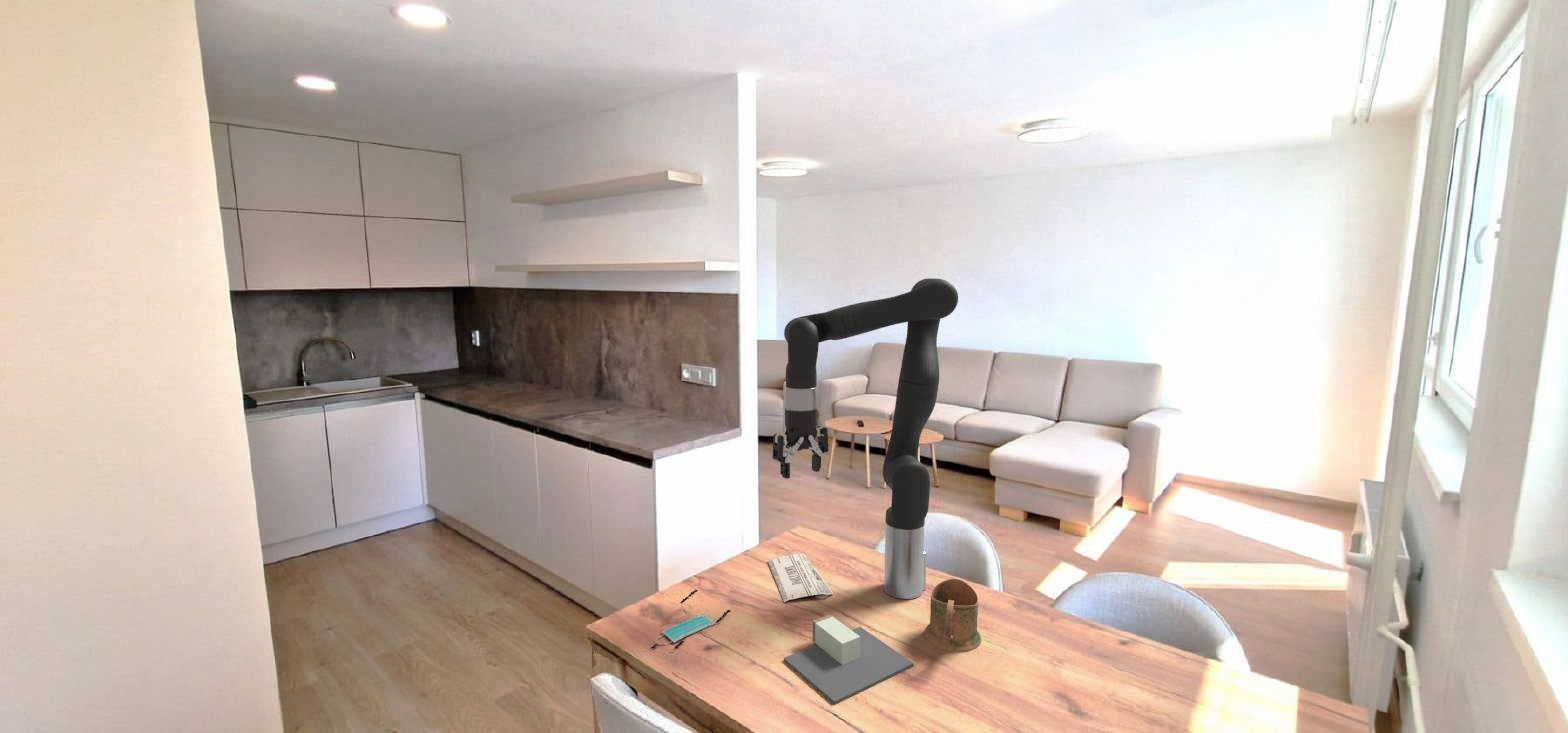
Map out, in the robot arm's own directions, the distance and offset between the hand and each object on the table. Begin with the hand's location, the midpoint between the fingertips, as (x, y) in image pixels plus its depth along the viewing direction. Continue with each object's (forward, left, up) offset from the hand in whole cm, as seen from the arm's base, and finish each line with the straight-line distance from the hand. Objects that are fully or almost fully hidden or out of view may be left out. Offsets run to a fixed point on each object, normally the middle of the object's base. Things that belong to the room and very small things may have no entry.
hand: (800, 474), depth 150 cm
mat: (+8, +27, -30) cm, 41 cm away
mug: (-14, +34, -30) cm, 48 cm away
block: (+8, +28, -27) cm, 40 cm away
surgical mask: (+28, -2, -31) cm, 42 cm away
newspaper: (-5, -8, -31) cm, 32 cm away
